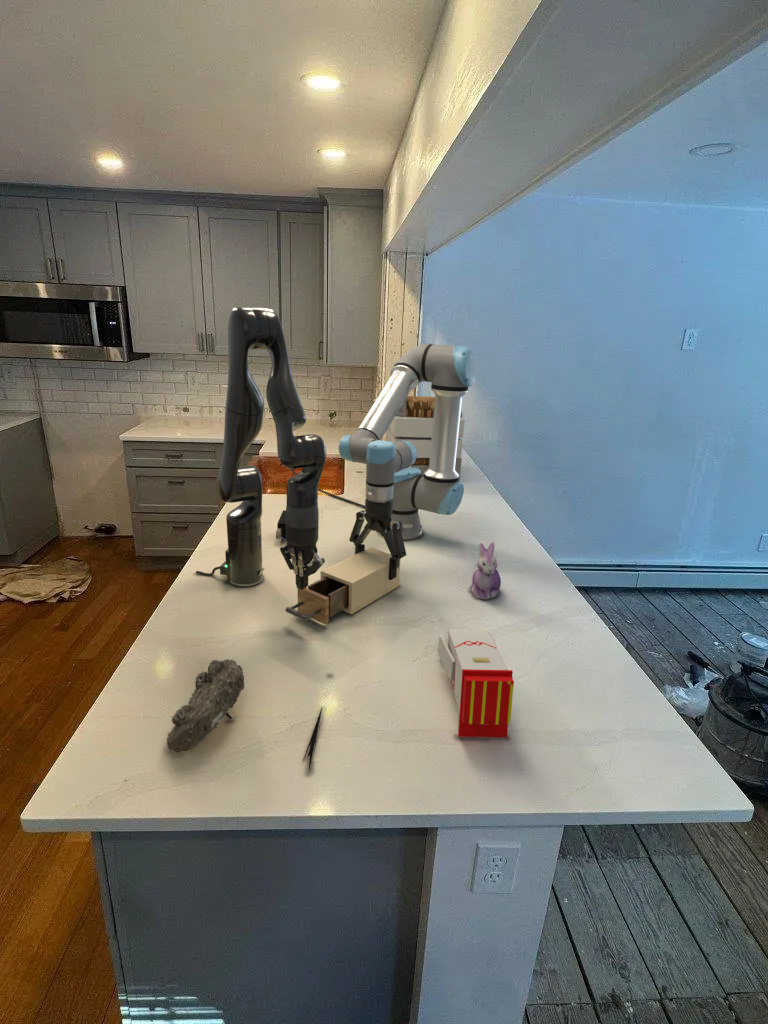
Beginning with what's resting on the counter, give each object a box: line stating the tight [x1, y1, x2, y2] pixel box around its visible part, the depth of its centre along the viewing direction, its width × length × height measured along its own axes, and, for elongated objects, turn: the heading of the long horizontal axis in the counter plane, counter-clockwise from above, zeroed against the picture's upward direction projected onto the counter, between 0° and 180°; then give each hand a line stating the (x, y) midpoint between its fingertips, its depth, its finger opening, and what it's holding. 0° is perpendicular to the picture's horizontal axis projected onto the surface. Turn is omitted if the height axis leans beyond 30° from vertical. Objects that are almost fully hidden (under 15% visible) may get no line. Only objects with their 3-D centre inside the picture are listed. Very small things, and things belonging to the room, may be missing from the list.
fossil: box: [166, 658, 245, 754], centre depth 106 cm, size 22×10×15 cm
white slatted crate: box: [384, 395, 465, 482], centre depth 268 cm, size 34×33×41 cm
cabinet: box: [320, 547, 402, 615], centre depth 156 cm, size 21×11×9 cm, turn 143°
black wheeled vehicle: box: [275, 509, 287, 544], centre depth 191 cm, size 7×8×15 cm
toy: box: [437, 628, 515, 738], centre depth 117 cm, size 12×13×30 cm
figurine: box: [470, 541, 502, 600], centre depth 158 cm, size 9×10×15 cm
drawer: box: [284, 577, 349, 625], centre depth 146 cm, size 26×10×7 cm, turn 143°
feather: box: [301, 673, 332, 771], centre depth 108 cm, size 2×28×2 cm
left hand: (301, 587), depth 136 cm, fingers closed
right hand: (376, 572), depth 161 cm, fingers closed on cabinet, 11 cm apart
